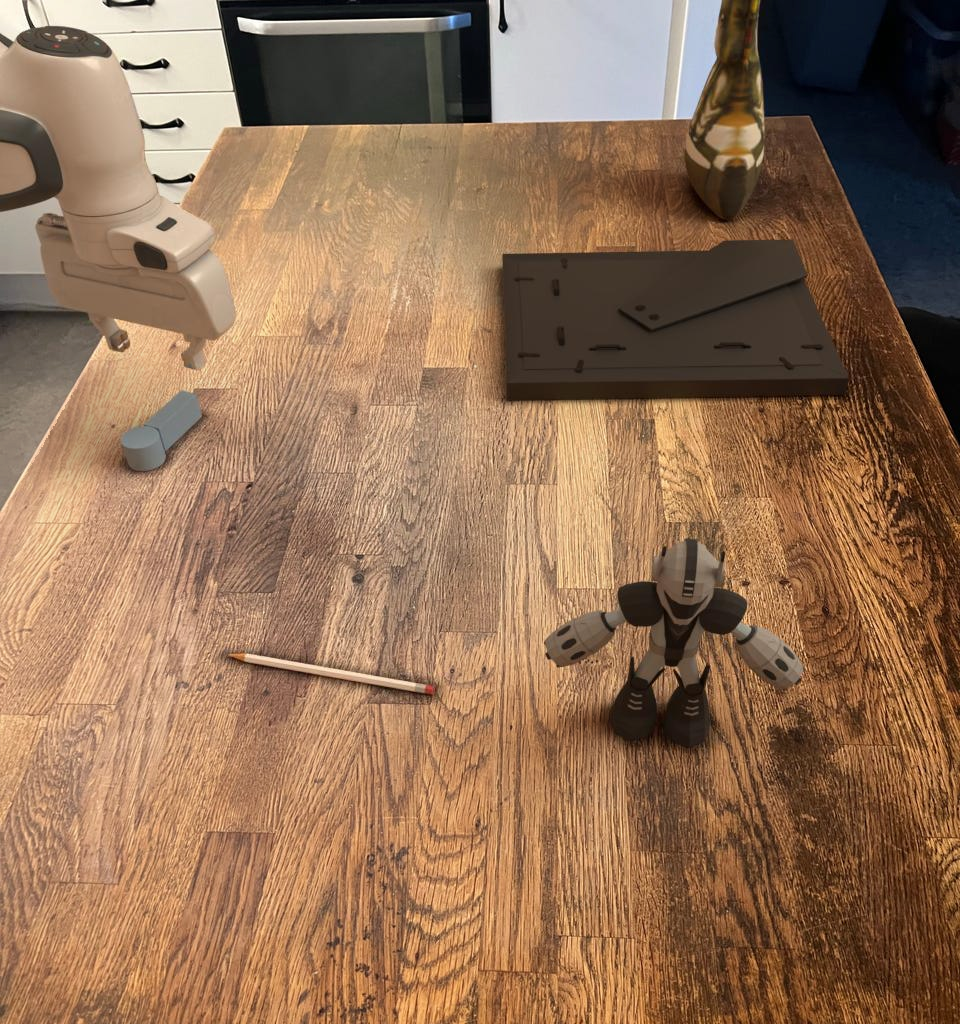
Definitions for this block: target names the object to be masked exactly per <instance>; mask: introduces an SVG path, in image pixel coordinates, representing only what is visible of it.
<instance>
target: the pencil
mask: <svg viewBox="0 0 960 1024" xmlns="http://www.w3.org/2000/svg"><path fill="white" fill-rule="evenodd" d="M227 655H228V656H230V657H231V658H235V659H236V660H240V661H242V662H245V663H249V664H256V665H260V666H266V667H272V668H276V669H277V668H278V669H284V670H289V671H295V672H300V673H306V674H313V675H317V676H322V677H327V678H328V677H329V678H335V679H339V680H340V679H341V680H346V681H353V682H357V683H363V684H369V685H373V686H374V685H375V686H380V687H385V688H390V689H397V690H402V691H408V692H413V693H418V694H419V693H420V694H425V695H430V696H432V695H434V693H435V686H434V685H431V684H423V683H417V682H413V681H406V680H401V679H396V678H395V679H394V678H390V677H385V676H378V675H372V674H365V673H361V672H355V671H349V670H344V669H337V668H332V667H326V666H321V665H315V664H308V663H303V662H298V661H292V660H287V659H281V658H274V657H270V656H263V655H258V654H251V653H245V652H244V653H229V654H227Z"/></svg>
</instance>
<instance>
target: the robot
mask: <svg viewBox="0 0 960 1024" xmlns="http://www.w3.org/2000/svg"><path fill="white" fill-rule="evenodd" d="M725 559H726V551H724V550H722V551H721V554H720V558H719V560H717V559H716V558H715V557H714V556H713V554H712V553H711V552H710V551H709V550H708V548H707V546H706V545H705V544H703V543H701V542H699V541H698V539H697V538H687V537H686V538H685V539H684V540H681V541H677V542H675V544H674V545H673V546H672V547H670V548H669V549H668V550H667V546H666V545H663V546H662V547H661V551H660V554H659V555H653V557H652V563H651V564H652V566H651V572H650V573H651V575H650V581H647V580H646V581H645V580H642V581H635V582H631V583H626V584H624V585H621V586H620V587H618V589H617V593H616V594H617V601H618V602H617V603H618V605H619V608H617V609H614V610H611V611H604V610H602V609H600V610H593V611H587V612H585V613H584V614H582V615H579V616H576V617H574V618H572V619H571V620H569V621H567V622H565V623H564V624H562V625H561V626H560V627H558V628H557V629H555V630H554V631H553V632H551V633H550V634H549V635H548V636H547V637H546V638H545V640H544V641H543V644H544V646H545V649H546V652H545V654H544V655H545V658H546V659H547V661H549V660H551V661H552V662H553V663H554V664H555V666H556V668H565V667H569V666H573V665H575V664H578V663H579V662H581V661H583V660H585V659H587V658H589V657H592V655H594V654H596V653H597V652H599V651H600V650H601V649H602V648H604V647H605V646H606V645H608V644H609V642H610V641H611V640H612V638H614V636H615V635H616V629H617V627H618V626H620V625H622V624H625V623H628V624H629V625H630V626H632V627H638V628H647V627H650V631H649V636H648V649H647V650H646V652H645V653H644V655H643V657H642V659H641V660H640V662H639V664H638V665H637V667H636V670H635V657H634V656H631V657H629V664H628V665H629V666H628V672H627V681H626V682H625V683H624V685H623V686H622V688H621V689H620V690H619V692H618V693H617V695H616V697H615V700H614V702H613V705H612V708H611V712H610V717H609V724H610V727H611V730H612V732H614V733H615V734H617V735H618V736H620V737H621V738H623V739H624V740H626V741H627V742H630V741H631V742H633V741H639V740H646V739H647V738H649V736H651V735H652V734H653V733H655V731H656V727H657V721H658V707H657V700H656V696H655V691H654V686H653V685H654V683H656V681H657V680H658V679H659V678H660V677H661V675H662V674H663V673H664V672H665V670H666V667H669V668H673V669H672V672H673V674H674V676H675V679H676V682H677V684H678V685H677V687H676V688H675V689H674V690H673V692H672V693H671V696H670V697H669V699H668V702H667V705H666V708H665V711H664V716H663V719H662V723H661V727H662V733H663V734H664V735H665V736H666V737H667V739H669V740H670V742H672V743H674V744H678V745H681V746H683V747H686V748H688V749H689V748H692V747H694V746H697V745H699V744H702V743H704V742H705V741H706V740H707V737H708V735H709V733H710V730H711V714H710V713H711V712H710V702H709V699H708V694H707V692H706V691H707V690H706V686H707V682H708V678H709V673H710V669H711V665H710V664H708V663H706V664H705V666H704V668H703V670H702V672H701V675H700V672H699V666H698V659H697V654H698V652H699V648H700V644H701V639H702V637H703V634H704V632H708V633H710V634H714V635H719V636H720V635H721V636H725V635H729V634H731V635H732V636H733V637H734V638H735V641H734V642H735V647H736V650H737V652H738V655H739V658H741V659H742V660H743V662H744V664H745V665H746V666H747V667H748V668H749V669H750V670H751V671H752V672H753V673H754V674H755V675H756V676H757V677H759V678H760V679H761V680H762V681H763V682H765V683H767V684H768V685H770V686H772V687H774V688H776V689H777V690H780V691H786V690H787V689H789V688H790V687H791V686H793V685H795V686H798V685H799V684H800V683H801V682H802V678H801V677H802V674H803V672H804V666H803V662H802V661H801V659H800V658H799V656H798V655H797V654H796V653H795V652H794V651H793V650H792V648H791V647H790V646H789V645H788V644H787V643H786V642H785V641H784V640H782V638H781V637H779V636H778V635H776V634H774V633H773V632H771V630H769V629H767V628H764V627H761V626H759V625H756V624H751V625H748V624H746V623H743V622H742V621H743V619H744V617H745V614H746V612H747V609H748V606H749V605H748V600H747V599H746V598H745V597H744V596H743V595H742V594H739V593H737V592H735V591H732V590H729V589H727V588H722V587H723V584H724V579H725V569H726V568H725V565H726V564H725ZM663 666H666V667H663ZM675 667H676V668H678V671H677V670H676V668H675ZM678 672H679V673H678Z"/></svg>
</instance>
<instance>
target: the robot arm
mask: <svg viewBox="0 0 960 1024" xmlns="http://www.w3.org/2000/svg"><path fill="white" fill-rule="evenodd" d="M138 112H139V111H138V109H137V106H136V103H135V100H134V97H133V94H132V90H131V88H130V85H129V83H128V80H127V78H126V74H125V72H124V70H123V67H122V65H121V63H120V61H119V59H118V57H117V56H116V54H115V52H114V51H113V49H112V48H111V47H110V46H109V45H108V44H107V43H106V42H105V41H104V40H103V39H101V38H100V37H98V36H97V35H94V34H92V33H90V32H88V31H86V30H83V29H79V28H75V27H70V26H65V25H62V26H61V25H44V26H41V27H40V26H39V27H31V28H28V29H26V30H23V31H21V32H19V34H17V36H16V37H15V39H14V40H12V39H11V38H8V37H7V36H5V35H4V34H2V33H1V32H0V213H3V212H8V211H13V210H18V209H21V208H26V207H29V206H33V205H36V204H40V203H44V202H46V201H49V200H50V199H53V198H55V199H56V200H57V201H58V204H59V206H60V210H61V213H62V215H58V214H57V213H52V212H45V213H43V214H42V216H39V217H38V218H37V221H36V224H35V232H36V234H37V237H38V240H39V242H40V250H39V251H40V257H41V262H42V266H43V270H44V275H45V279H46V282H47V286H48V289H49V292H50V295H51V297H52V298H53V299H54V300H55V301H56V303H57V304H58V305H59V306H60V307H62V308H65V309H69V310H74V311H77V312H83V313H87V316H88V318H89V321H90V323H92V324H93V325H94V327H95V328H96V329H97V330H98V331H99V333H100V334H101V335H102V336H103V337H104V339H105V341H106V344H107V347H108V349H109V350H110V351H113V352H117V353H118V352H119V353H125V352H126V350H128V349H129V348H130V347H131V341H130V338H129V334H128V331H127V330H125V329H121V327H120V326H119V325H118V324H117V322H116V320H119V321H123V322H127V323H133V324H136V325H141V326H145V327H150V328H153V329H154V328H155V329H159V330H163V331H168V332H173V333H177V334H181V335H183V336H182V337H183V339H184V341H185V343H189V346H188V347H187V348H186V349H185V350H184V351H183V352H181V353H180V356H181V360H182V361H183V364H182V365H183V367H184V368H187V369H190V370H194V371H199V370H201V369H202V368H203V367H204V366H205V365H206V361H207V360H206V356H205V352H204V347H205V345H206V343H207V341H217V340H218V339H220V338H221V337H222V336H224V334H226V333H227V332H228V331H229V330H230V329H231V328H232V326H233V325H234V323H235V322H236V319H237V311H236V306H235V305H236V304H235V301H234V297H233V292H232V288H231V285H230V282H229V278H228V276H227V272H226V269H225V267H224V265H223V263H222V261H221V259H220V257H218V255H217V254H216V253H215V252H214V251H212V250H211V249H210V248H212V246H214V244H215V243H216V235H215V231H214V228H213V226H212V225H211V224H210V222H207V221H206V220H204V219H202V218H200V217H198V216H196V215H194V214H192V213H190V212H188V211H186V210H185V209H184V208H182V207H180V206H179V205H177V204H175V203H174V202H172V201H170V199H168V198H167V197H165V196H163V195H160V191H159V187H158V184H157V181H156V179H155V177H154V176H153V174H152V172H151V171H150V168H149V166H148V163H147V159H146V138H145V135H144V131H143V127H142V123H141V120H140V116H139V113H138Z"/></svg>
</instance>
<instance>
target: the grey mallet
mask: <svg viewBox="0 0 960 1024" xmlns="http://www.w3.org/2000/svg"><path fill="white" fill-rule="evenodd" d="M197 395H198V394H197V393H194V392H190V391H186V390H183V389H181V390H180V391H178V393H176V394H175V396H173V397H172V398H171V399H170V400H169V401H168V402H166V403H165V404H164V405H163V406H162V407H161V408H160V409H159V410H157V412H155V413H154V414H153V415H152V416H151V417H150V418H149V419H148V420H147V421H145V423H144V424H143V425H140V426H134V427H132V428H129V429H128V430H126V431H124V432H123V434H122V435H121V436H120V441H119V442H120V444H121V448H122V451H123V453H124V457H125V459H126V463H127V465H128V467H129V468H130V469H131V470H133V471H136V472H149V471H153V470H156V469H158V468H159V467H160V466H162V465H163V464H164V463H165V461H166V459H167V458H166V457H167V456H166V452H167V451H168V450H169V449H170V448H171V447H172V446H173V445H174V444H175V443H176V442H178V441H179V440H180V438H181V437H183V435H185V434H186V433H187V432H188V431H189V430H190V429H191V428H192V427H193V426H194V425H195V424H196V423H197V422H198V421H199V420H201V418H202V417H203V414H202V410H201V406H200V402H199V400H198V396H197Z"/></svg>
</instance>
